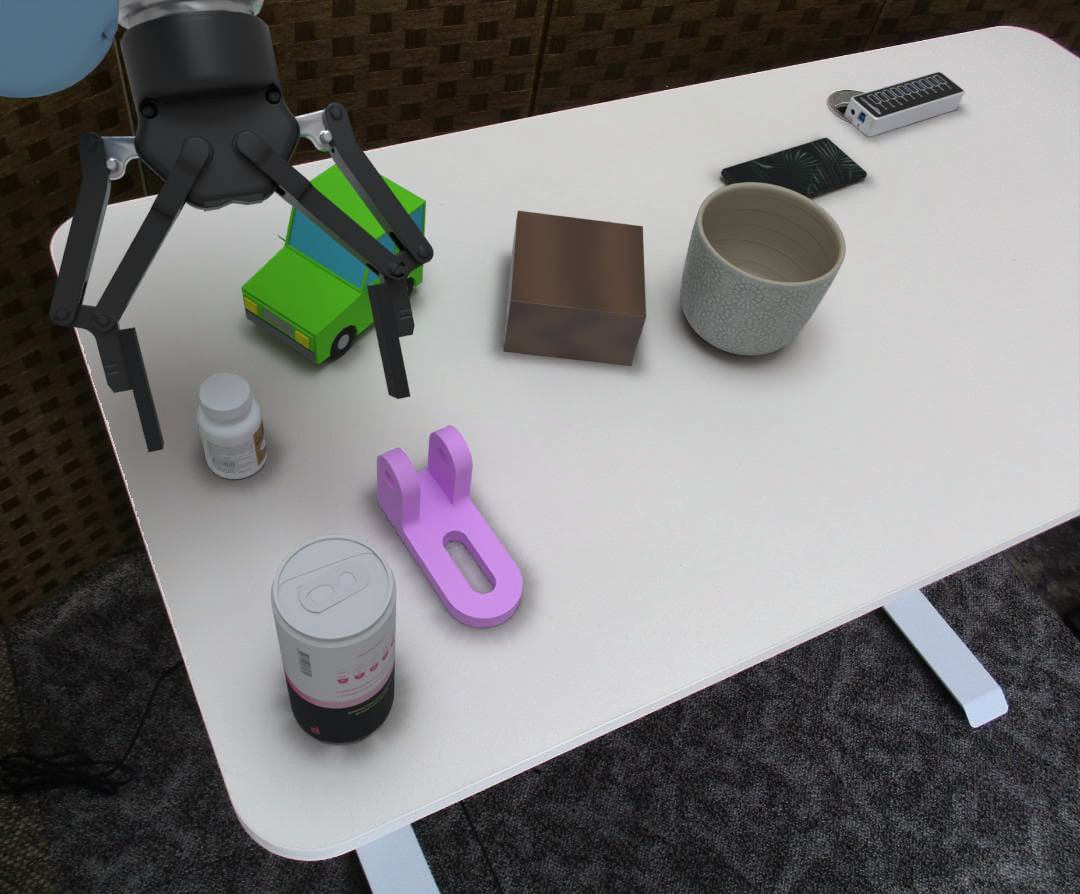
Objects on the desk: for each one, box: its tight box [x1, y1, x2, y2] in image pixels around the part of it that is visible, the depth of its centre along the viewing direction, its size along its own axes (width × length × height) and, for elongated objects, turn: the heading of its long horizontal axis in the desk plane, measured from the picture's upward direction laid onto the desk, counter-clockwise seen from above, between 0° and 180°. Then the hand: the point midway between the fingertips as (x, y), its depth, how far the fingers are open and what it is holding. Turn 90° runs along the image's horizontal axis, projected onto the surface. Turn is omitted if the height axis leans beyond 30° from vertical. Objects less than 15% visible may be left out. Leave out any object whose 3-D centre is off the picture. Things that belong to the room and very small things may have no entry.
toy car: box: [241, 163, 427, 365], centre depth 80 cm, size 10×13×10 cm
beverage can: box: [270, 533, 397, 744], centre depth 58 cm, size 6×7×15 cm
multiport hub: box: [843, 71, 966, 138], centre depth 112 cm, size 4×14×2 cm, turn 121°
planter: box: [680, 182, 847, 356], centre depth 85 cm, size 12×12×11 cm
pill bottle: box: [196, 372, 268, 480], centre depth 71 cm, size 4×4×8 cm
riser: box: [502, 210, 647, 366], centre depth 85 cm, size 11×11×6 cm
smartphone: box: [720, 137, 868, 199], centre depth 103 cm, size 7×1×15 cm
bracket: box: [376, 424, 524, 629], centre depth 69 cm, size 13×6×7 cm, turn 33°
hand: (282, 421), depth 56 cm, fingers open, 13 cm apart
